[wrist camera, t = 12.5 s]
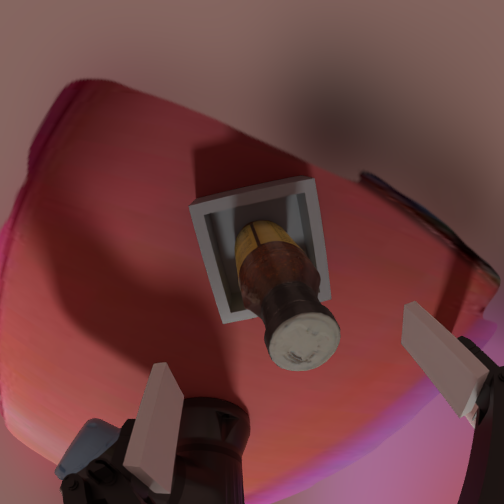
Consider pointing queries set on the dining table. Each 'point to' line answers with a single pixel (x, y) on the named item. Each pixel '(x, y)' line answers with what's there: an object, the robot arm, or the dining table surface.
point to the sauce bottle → (284, 297)
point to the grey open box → (248, 210)
